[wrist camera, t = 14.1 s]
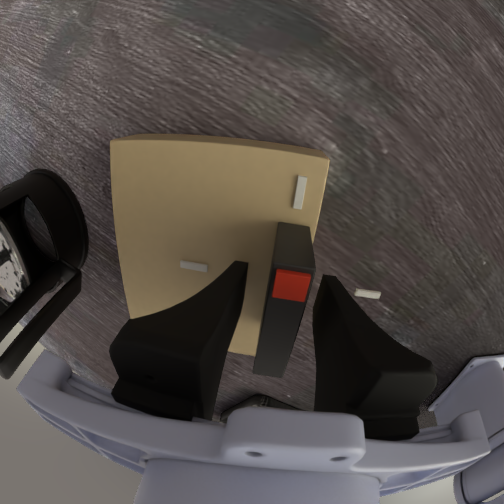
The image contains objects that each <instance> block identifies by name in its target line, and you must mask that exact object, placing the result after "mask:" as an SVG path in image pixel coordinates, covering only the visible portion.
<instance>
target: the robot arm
mask: <svg viewBox="0 0 504 504" xmlns="http://www.w3.org/2000/svg"><path fill="white" fill-rule="evenodd" d="M248 263H249V262H243V261H236V260H235V261H234V262H233V263H232V264H231V265H230V266H229V267H228V268H227V269H226V270H225V271H224V272H223V273H222V274H221V275H219V276H218V277H217V278H216V279H215V280H214V281H213V282H211V283H210V284H209V285H207V286H206V287H205V288H204V289H202V290H201V291H199V292H198V293H196V294H195V295H193V296H192V297H190V298H188V299H187V300H185V301H183V302H180V303H178V304H176V305H174V306H172V307H170V308H167V309H165V310H162V311H159V312H156V313H153V314H150V315H146V316H142V317H138V318H134V319H129V320H128V321H127V323H126V324H125V325H124V326H123V327H122V329H121V330H120V332H119V333H118V335H117V336H116V338H115V339H114V341H113V342H112V344H111V345H110V349H109V353H110V357H111V360H112V362H113V364H114V367H115V369H116V372H117V374H118V376H119V379H118V381H117V382H116V384H115V386H114V388H113V390H111V389H108V388H106V387H104V386H101V385H99V384H97V383H94V382H92V381H90V380H88V379H86V378H83V377H81V376H79V375H77V374H75V373H73V372H72V369H71V367H70V365H69V364H68V363H67V362H66V361H65V360H64V359H63V358H61V357H59V356H58V355H56V354H54V353H52V352H50V351H48V350H44V351H43V352H42V353H41V355H40V356H39V357H38V359H37V360H36V361H35V363H34V364H33V365H32V367H31V368H30V369H29V371H28V372H27V374H26V375H25V377H24V378H23V379H22V381H21V382H20V384H19V385H18V387H17V388H16V389H17V391H18V393H19V394H20V395H21V396H22V397H23V398H24V400H25V401H26V402H27V403H28V404H29V405H30V406H31V407H32V408H33V410H35V412H36V413H38V415H39V416H40V417H41V418H42V419H43V420H45V421H46V422H47V423H49V424H50V425H52V426H53V427H55V428H56V429H58V430H60V431H61V432H63V433H64V434H66V435H68V436H69V437H71V438H72V439H74V440H76V441H77V442H79V443H81V444H82V445H84V446H86V447H88V448H89V449H91V450H93V451H95V452H97V453H98V454H100V455H102V456H104V457H106V458H108V459H110V460H112V461H114V462H116V463H118V464H120V465H122V466H124V467H126V468H128V469H131V470H133V471H135V472H138V473H140V474H142V475H143V476H142V479H141V481H140V484H139V487H138V490H137V493H136V496H135V499H134V501H133V504H380V497H381V496H386V495H390V494H394V493H398V492H402V491H406V490H409V489H413V488H416V487H419V486H423V485H426V484H429V483H432V482H435V481H438V480H441V479H444V478H447V477H450V476H452V475H455V476H454V484H453V486H454V494H455V498H456V501H457V503H458V504H504V494H503V495H501V496H499V497H497V498H496V499H494V500H492V501H489V502H482V501H484V500H486V499H488V498H489V497H492V496H493V495H495V494H497V493H499V492H501V491H502V490H504V372H503V369H502V368H503V367H504V355H495V356H484V357H474V358H473V359H471V360H470V362H469V363H468V364H467V366H466V367H465V368H464V369H463V370H462V372H461V373H460V374H459V375H458V376H457V378H456V379H455V380H454V381H453V382H452V383H451V384H450V385H449V387H448V388H447V389H446V390H445V391H444V392H443V393H442V394H441V395H440V396H439V397H438V398H437V399H436V400H435V401H434V402H433V403H432V404H431V405H430V406H429V408H428V410H429V411H434V413H435V417H436V420H437V424H438V426H434V427H429V428H422V429H419V426H418V421H417V416H419V415H420V411H419V406H420V404H421V403H422V402H423V401H424V400H425V399H426V398H427V397H428V396H429V395H430V394H431V393H432V391H433V390H434V389H435V387H436V384H437V376H436V374H435V371H434V368H433V365H432V363H431V361H429V360H427V359H426V358H424V357H422V356H420V355H418V354H416V353H414V352H412V351H411V350H409V349H408V348H406V347H405V346H403V345H401V344H400V343H399V342H397V341H396V340H394V339H393V338H392V337H391V336H389V335H388V334H387V333H386V332H384V331H383V330H382V329H381V328H380V327H379V326H378V325H377V324H376V323H374V322H373V321H372V320H371V319H370V318H369V317H368V316H367V314H366V313H365V312H364V311H363V310H362V309H361V308H360V307H359V305H358V304H357V303H356V302H355V301H354V299H353V298H352V297H351V296H350V294H349V293H348V292H347V290H346V289H345V288H344V286H343V285H342V284H341V282H340V281H339V280H338V279H337V277H336V276H331V275H324V274H323V277H322V280H321V283H320V287H319V290H318V293H317V297H316V300H315V303H314V306H313V324H312V326H313V336H314V346H315V357H316V391H315V405H314V411H300V410H289V409H280V408H272V407H255V406H249V407H245V408H241V409H237V410H234V411H233V412H232V413H231V414H230V415H229V417H228V420H227V424H225V423H220V422H215V421H211V420H212V415H213V410H214V406H215V401H216V397H217V392H218V388H219V384H220V379H221V375H222V371H223V367H224V362H225V358H226V355H227V352H228V349H229V346H230V343H231V340H232V338H233V335H234V332H235V329H236V326H237V324H238V321H239V318H240V315H241V311H242V306H243V301H244V296H245V288H246V280H247V271H248Z"/></svg>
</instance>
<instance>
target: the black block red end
mask: <svg viewBox="0 0 504 504" xmlns="http://www.w3.org/2000/svg"><path fill="white" fill-rule="evenodd" d="M315 272H316V266H315V259H314V252H313V245H312V238H311V231H310V227H309V226H303V225H297V224H291V223H285V222H278V225H277V231H276V237H275V243H274V249H273V255H272V261H271V267H270V273H269V279H268V285H267V290H266V296H265V301H264V307H263V313H262V318H261V324H260V330H259V336H258V342H257V348H256V354H255V360H254V366H253V374H258V375H265V376H272V377H279V378H282V377H283V375H284V372H285V369H286V366H287V363H288V360H289V357H290V354H291V351H292V348H293V345H294V342H295V339H296V336H297V333H298V330H299V327H300V323H301V320H302V317H303V313H304V310H305V307H306V303H307V300H308V297H309V293H310V290H311V286H312V282H313V279H314V275H315Z"/></svg>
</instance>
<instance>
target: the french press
mask: <svg viewBox="0 0 504 504" xmlns="http://www.w3.org/2000/svg"><path fill="white" fill-rule="evenodd" d="M27 196H28V198H29V199H30V200H31V201H32V202H33V203H34V205H35V206H36V208H37V209H38V211H39V213H40V214H41V216H42V218H43V220H44V222H45V224H46V226H47V228H48V230H49V233H50V235H51V238H52V241H53V244H54V247H55V251H56V255H57V261H56V262H53V261H51V260H49V259H48V258H46V257H45V256H44V255H43V254H42V253H41V252H40V251H39V250H38V249H37V248H36V246H35V245H34V243H33V241H32V240H31V238H30V236H29V233H28V231H27V228H26V224H25V219H24V202H25V197H27ZM87 253H88V233H87V226H86V223H85V219H84V215H83V213H82V210H81V207H80V205H79V203H78V201H77V199H76V197H75V195H74V193H73V192H72V190H71V189H70V188H69V186H68V185H67V184H66V183H65V182H64V180H63V179H62V178H61V177H60V176H58V175H57V174H55V173H54V172H52V171H49V170H47V169H36V170H33V171H30V172H29V173H27V174H26V175H25V176H24V177H23V178H21V179H19V180H16V181H14V182H12V183H10V184H8V185H6V186H4V187H3V188H2V189H1V190H0V342H1V341H2V340H3V339H4V338H5V336H6V335H7V334H8V333H9V332H10V331H11V329H12V328H13V327H14V326H15V325H16V324H17V323H18V322H19V320H20V319H21V318H22V317H23V316H24V315H25V314H26V313H28V312H29V310H30V309H31V308H32V307H33V306H34V304H35V303H36V302H37V301H38V300H39V299H40V298H41V297H42V296H43V295H44V294H45V293H51V292H53V291H54V290H55V289H56V288H57V287H58V286H59V285H60V284H61V283H62V282H66V284H65V285H64V286H63V287H62V288H61V289H60V290H59V291H58V292H57V293H56V294H55V295H54V296H53V297H52V298H51V299H50V300H49V301H48V302H47V303H46V305H45V306H44V307H43V308H42V309H41V310H40V311H39V312H38V313H37V314H36V315H35V316H34V317H33V319H32V320H31V321H30V322H29V323H28V324H27V325H26V326H25V328H24V329H23V330H22V331H21V332H20V333H19V335H18V336H17V337H16V338H15V339H14V341H13V342H12V343H11V344H10V345H9V347H8V348H7V349H6V350H5V352H4V353H3V354H2V356H1V357H0V375H1V376H2V377H3V378H5V379H9V378H10V377H11V376H12V375H13V373H14V372H15V371H16V369H17V368H18V366H19V365H20V364H21V362H22V361H23V360H24V358H25V357H26V356H27V354H28V353H29V352H30V351H31V349H32V348H33V347H34V345H35V344H36V343H37V342H38V340H39V339H40V338H41V337H42V336H43V334H44V333H45V332H46V331H47V329H48V328H49V327H50V326H51V325H52V324H53V322H54V321H55V320H56V319H57V318H58V317H59V315H60V314H61V313H62V312H63V311H64V310H65V309H66V308H67V306H68V305H69V304H70V303H71V302H72V301H73V300H74V299H75V298H76V296H77V295H78V294H79V293H80V292H81V281H82V273H81V271H80V269H81V268H82V266H83V265H84V263H85V260H86V258H87Z"/></svg>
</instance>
